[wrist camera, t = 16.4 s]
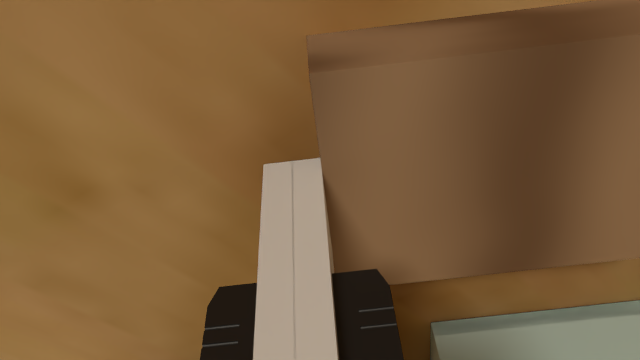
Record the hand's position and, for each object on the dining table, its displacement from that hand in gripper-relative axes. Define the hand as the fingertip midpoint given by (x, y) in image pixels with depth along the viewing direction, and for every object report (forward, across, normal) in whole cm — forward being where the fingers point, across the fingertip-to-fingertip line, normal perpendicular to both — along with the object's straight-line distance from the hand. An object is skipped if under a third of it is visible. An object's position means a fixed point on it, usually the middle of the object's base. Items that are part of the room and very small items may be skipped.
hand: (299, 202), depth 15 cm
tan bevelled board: (+2, +5, 0) cm, 6 cm away
